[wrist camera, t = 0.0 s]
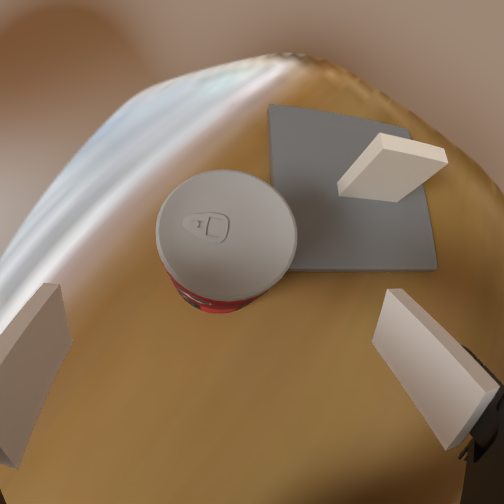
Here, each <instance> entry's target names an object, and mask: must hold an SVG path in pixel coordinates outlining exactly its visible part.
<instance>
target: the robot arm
mask: <svg viewBox="0 0 504 504" xmlns="http://www.w3.org/2000/svg"><path fill="white" fill-rule="evenodd" d="M72 343H73V341H72V337H71V333H70V329H69V325H68V321H67V316H66V312H65V307H64V302H63V298H62V293H61V287H60V284H50V283H44V284H43V285H42V286H41V287H40V288H39V289H38V290H37V291H36V293H35V294H34V295H33V296H32V297H31V298H30V300H29V301H28V302H27V303H26V304H25V305H24V307H23V308H22V309H21V310H20V311H19V313H18V314H17V315H16V316H15V318H14V319H13V320H12V321H11V322H10V324H9V325H8V326H7V327H6V329H5V330H4V331H3V333H2V334H1V335H0V463H1V464H4V465H6V466H9V467H12V468H15V469H17V470H18V469H19V466H20V463H21V460H22V457H23V455H24V452H25V449H26V446H27V444H28V441H29V439H30V436H31V433H32V431H33V428H34V426H35V423H36V421H37V419H38V416H39V414H40V411H41V409H42V407H43V404H44V402H45V400H46V398H47V395H48V393H49V391H50V389H51V386H52V384H53V382H54V380H55V378H56V376H57V374H58V371H59V369H60V367H61V365H62V363H63V361H64V359H65V357H66V355H67V353H68V351H69V349H70V347H71V345H72ZM372 344H373V345H374V347H375V348H376V349H377V351H378V352H379V354H380V355H381V356H382V358H383V359H384V361H385V362H386V364H387V365H388V366H389V368H390V369H391V371H392V372H393V374H394V375H395V376H396V378H397V379H398V381H399V382H400V384H401V385H402V387H403V388H404V389H405V391H406V392H407V394H408V395H409V397H410V398H411V400H412V401H413V403H414V404H415V406H416V407H417V409H418V410H419V411H420V413H421V414H422V416H423V417H424V419H425V420H426V422H427V423H428V425H429V426H430V428H431V430H432V431H433V433H434V434H435V436H436V437H437V439H438V440H439V442H440V443H441V445H442V446H443V448H444V449H445V451H446V450H449V449H451V448H453V447H456V446H458V445H460V444H461V443H462V442H463V440H464V439H465V438H466V437H467V435H468V434H469V433H470V434H471V435H472V437H473V438H472V440H471V441H470V442H469V443H468V445H467V446H466V447H465V449H464V450H463V451H462V452H461V453H460V455H459V458H458V459H461V458H462V457H463V456H464V455H465V453H466V452H468V455H467V457H466V458H465V459H464V460H466V461H467V464H466V472H465V478H464V485H463V491H462V496H461V501H460V504H504V385H503V384H502V383H501V382H500V381H499V380H498V379H497V378H496V377H495V376H494V375H493V374H492V373H491V372H490V371H489V369H488V368H487V367H486V366H483V363H482V362H481V361H480V360H479V359H477V357H476V356H475V355H474V354H473V353H472V352H471V351H470V350H469V349H467V348H466V347H464V346H463V345H461V344H459V343H458V342H457V341H456V340H455V339H454V338H453V337H452V336H451V335H450V334H449V333H448V332H447V331H446V330H445V329H444V328H443V327H442V326H441V325H440V324H439V323H438V322H437V321H436V320H435V319H434V318H432V317H431V316H430V315H429V314H428V313H427V312H426V311H425V310H424V309H423V308H422V307H421V306H420V305H419V304H418V303H417V302H416V301H414V300H413V299H412V298H411V297H410V296H409V295H408V294H407V293H406V292H405V291H404V290H403V289H387V292H386V295H385V299H384V303H383V306H382V310H381V313H380V316H379V320H378V323H377V326H376V330H375V333H374V336H373V339H372ZM0 504H6V502H5V500H4V497H3V495H2V493H1V490H0Z"/></svg>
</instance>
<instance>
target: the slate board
mask: <svg viewBox="0 0 504 504" xmlns="http://www.w3.org/2000/svg"><path fill="white" fill-rule="evenodd" d="M267 115H268V134H269V154H270V175H271V186H272V187H274V188H275V189H276V190H277V191H278V192H279V194H280V195H281V196H282V197H283V198H284V199H285V201H286V202H287V204H288V205H289V207H290V209H291V211H292V214H293V216H294V218H295V223H296V227H297V247H296V251H295V256H294V258H293V260H292V262H291V264H290V267H289V268H288V270H287V271H286V272H432V271H435V270H437V269H438V266H437V259H436V252H435V245H434V239H433V233H432V227H431V221H430V216H429V211H428V206H427V201H426V196H425V192H424V187H423V183H422V184H421V185H419V186H418V187H417V188H416V189H414V190H413V191H412V192H410V193H409V194H408V195H406V196H405V197H404V198H402V199H401V200H400V201H398V202H389V201H380V200H371V199H362V198H352V197H342V196H339V194H338V186H337V182H338V181H339V180H340V179H341V177H342V176H343V175H344V174H345V173H346V172H347V170H348V169H349V168H350V167H351V166H352V165H353V163H354V162H355V161H356V160H357V159H358V157H359V156H360V155H361V154H362V153H363V152H364V150H365V149H366V148H367V147H368V146H369V144H370V143H371V142H372V141H373V140H374V138H375V137H376V136H377V135H378V134H379V133H384V134H388V135H393V136H397V137H401V138H405V139H410V140H411V138H410V135H409V131H408V129H406V128H402V127H398V126H394V125H390V124H386V123H381V122H377V121H372V120H368V119H363V118H358V117H353V116H348V115H342V114H337V113H331V112H325V111H319V110H312V109H305V108H298V107H291V106H283V105H274V104H269V107H268V110H267Z"/></svg>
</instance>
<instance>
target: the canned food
mask: <svg viewBox="0 0 504 504" xmlns="http://www.w3.org/2000/svg"><path fill="white" fill-rule="evenodd" d="M156 243H157V248H158V252H159V255H160V258H161V260H162V263H163V265H164V267H165V269H166V271H167V272H168V274H169V276H170V278H171V280H172V281H173V283H174V285H175V287H176V288H177V290H178V292H179V294H180V295H181V296H182V297H183V298H184V299H185V300H186V301H187V302H188V303H190V304H191V305H192V306H194V307H196V308H198V309H200V310H202V311H206V312H209V313H219V314H220V313H229V312H232V311H236V310H239V309H240V308H242V307H244V306H246V305H247V304H249V303H250V302H252V301H253V300H255V299H256V298H258V297H259V296H261V295H262V294H264V293H265V292H267V291H268V290H269V289H270V288H271V287H273V286H274V285H275V284H276V283H277V282H278V281H280V279H281V278H282V277H283V275H284V274H285V273H286V271H287V270H288V268H289V267H290V264H291V262H292V260H293V258H294V256H295V251H296V247H297V227H296V223H295V218H294V216H293V214H292V211H291V209H290V207H289V205H288V204H287V202H286V201H285V199H284V198H283V197H282V196H281V195H280V194H279V192H278V191H277V190H276V189H275V188H274V187H272V186H271V185H269V184H268V183H266V182H265V181H264V180H262V179H260V178H258V177H256V176H253V175H251V174H248V173H244V172H241V171H235V170H226V169H225V170H212V171H207V172H203V173H199V174H197V175H195V176H193V177H190V178H188V179H187V180H185V181H184V182H182V183H181V184H179V185H178V186H177V187H176V188H175V189H174V190H173V191H172V192H171V193H170V194H169V195H168V197H167V198H166V200H165V201H164V203H163V204H162V206H161V209H160V212H159V214H158V217H157V224H156Z"/></svg>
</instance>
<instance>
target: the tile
mask: <svg viewBox="0 0 504 504" xmlns="http://www.w3.org/2000/svg"><path fill="white" fill-rule="evenodd" d="M447 164H448V161H447V157H446V154H445V151H444V149H443V148H440V147H436V146H433V145H429V144H425V143H421V142H418V141H414V140H410V139H405V138H401V137H397V136H393V135H388V134H384V133H379V134H378V135H377V136H376V137H375V138H374V140H373V141H372V142H371V143H370V144H369V146H368V147H367V148H366V149H365V150H364V152H363V153H362V154H361V155H360V156H359V157H358V159H357V160H356V161H355V162H354V163H353V165H352V166H351V167H350V168H349V169H348V170H347V172H346V173H345V174H344V175H343V176H342V177H341V179H340V180H339V181H338V182H337V186H338V194H339V196H342V197H352V198H362V199H371V200H380V201H389V202H398V201H400V200H401V199H402V198H404V197H405V196H406V195H408V194H409V193H410V192H412V191H413V190H414V189H416V188H417V187H418V186H419V185H421V184H422V183H423V182H425V181H426V180H427V179H429V178H430V177H431V176H433V175H434V174H435V173H436V172H438V171H439V170H440V169H442V168H443V167H444V166H446V165H447Z"/></svg>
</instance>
